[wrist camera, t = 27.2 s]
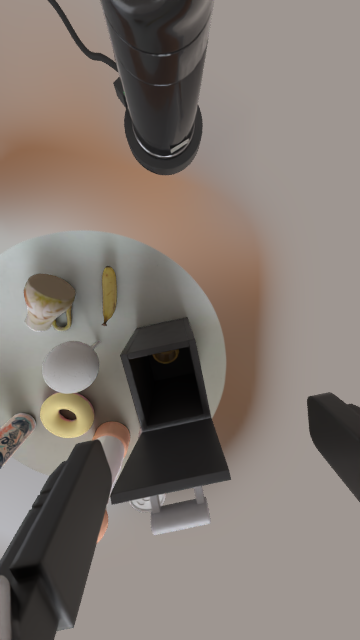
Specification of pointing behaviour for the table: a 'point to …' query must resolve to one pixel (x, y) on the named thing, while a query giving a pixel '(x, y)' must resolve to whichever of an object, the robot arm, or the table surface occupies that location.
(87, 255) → the table surface
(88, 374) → the lollipop
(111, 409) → the table surface
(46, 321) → the mug
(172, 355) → the wooden cup
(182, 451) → the box lid
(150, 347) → the dark hinged-lid box
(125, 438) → the pepper shaker
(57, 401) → the donut
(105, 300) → the banana
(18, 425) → the beer can
